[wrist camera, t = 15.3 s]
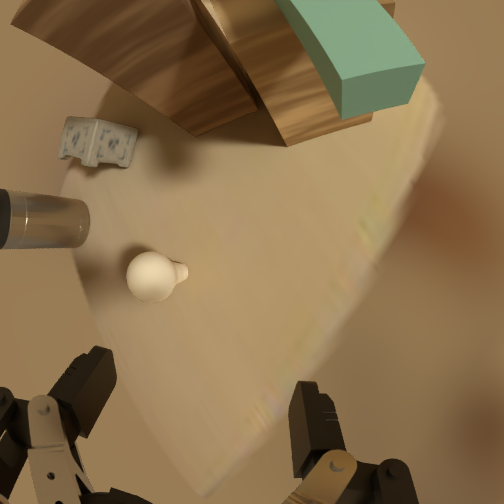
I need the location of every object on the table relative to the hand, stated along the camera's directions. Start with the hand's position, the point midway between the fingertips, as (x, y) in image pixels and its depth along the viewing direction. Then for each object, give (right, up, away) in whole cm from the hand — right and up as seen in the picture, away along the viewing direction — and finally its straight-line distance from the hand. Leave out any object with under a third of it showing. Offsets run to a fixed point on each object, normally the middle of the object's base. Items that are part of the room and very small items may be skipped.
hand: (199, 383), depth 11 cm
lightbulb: (-8, +3, +29) cm, 31 cm away
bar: (+5, +25, +2) cm, 26 cm away
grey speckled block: (-21, +23, +33) cm, 46 cm away
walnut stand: (-3, +30, +27) cm, 40 cm away
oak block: (+10, +28, +23) cm, 38 cm away
